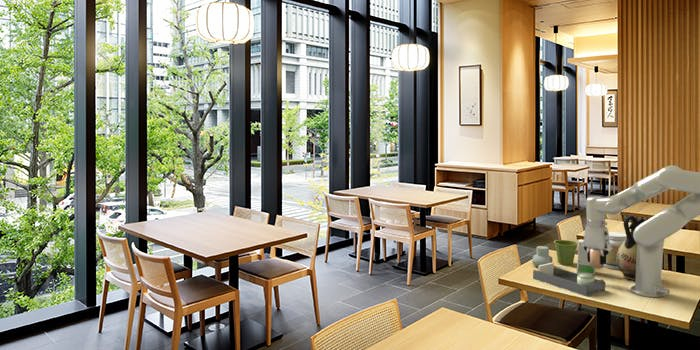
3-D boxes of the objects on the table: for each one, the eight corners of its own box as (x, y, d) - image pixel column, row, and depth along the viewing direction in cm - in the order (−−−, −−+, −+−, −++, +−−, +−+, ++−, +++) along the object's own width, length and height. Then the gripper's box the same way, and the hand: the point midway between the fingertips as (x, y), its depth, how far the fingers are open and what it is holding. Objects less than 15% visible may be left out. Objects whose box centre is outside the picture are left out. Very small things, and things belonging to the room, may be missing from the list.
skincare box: (576, 272, 244) (577, 241, 243) (577, 269, 250) (578, 238, 248) (595, 275, 240) (596, 243, 239) (596, 271, 246) (597, 240, 244)
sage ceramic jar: (597, 291, 218) (598, 276, 218) (587, 294, 215) (587, 278, 214) (583, 286, 225) (584, 271, 224) (573, 289, 221) (573, 274, 220)
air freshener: (536, 262, 263) (537, 244, 262) (553, 264, 258) (553, 246, 257) (531, 267, 254) (531, 248, 253) (548, 270, 249) (548, 250, 248)
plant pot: (579, 262, 262) (579, 241, 261) (575, 268, 252) (576, 246, 251) (555, 259, 268) (555, 238, 267) (551, 264, 258) (551, 243, 257)
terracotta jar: (606, 266, 227) (606, 247, 227) (598, 269, 225) (598, 249, 224) (595, 264, 232) (594, 245, 232) (587, 266, 230) (587, 247, 229)
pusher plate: (553, 275, 240) (553, 263, 239) (539, 278, 235) (540, 266, 234) (544, 272, 244) (545, 260, 244) (531, 275, 239) (531, 263, 239)
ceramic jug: (631, 271, 246) (634, 211, 242) (660, 280, 231) (664, 216, 228) (605, 275, 240) (607, 214, 236) (633, 285, 225) (636, 220, 222)
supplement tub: (620, 263, 259) (621, 231, 258) (633, 270, 247) (635, 236, 245) (596, 263, 259) (598, 231, 258) (609, 270, 247) (610, 237, 245)
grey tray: (605, 290, 219) (605, 279, 218) (586, 296, 212) (586, 284, 212) (551, 274, 243) (551, 264, 242) (533, 278, 237) (533, 268, 236)
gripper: (618, 224, 221) (619, 264, 223) (584, 220, 236) (585, 258, 238) (608, 227, 218) (609, 267, 219) (573, 222, 233) (574, 260, 234)
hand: (596, 262), depth 228 cm, fingers closed on terracotta jar, 5 cm apart
